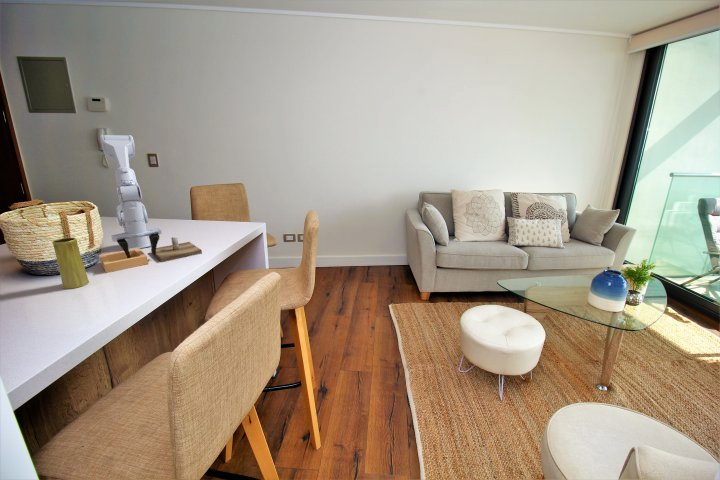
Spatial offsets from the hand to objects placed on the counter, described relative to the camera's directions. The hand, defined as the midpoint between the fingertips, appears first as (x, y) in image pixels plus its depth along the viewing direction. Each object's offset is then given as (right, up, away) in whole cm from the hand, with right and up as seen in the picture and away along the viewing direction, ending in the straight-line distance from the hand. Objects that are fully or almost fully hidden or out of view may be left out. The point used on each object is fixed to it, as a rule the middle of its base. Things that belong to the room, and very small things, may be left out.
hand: (141, 256), depth 115 cm
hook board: (+7, +1, +10) cm, 12 cm away
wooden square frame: (-5, -2, -2) cm, 6 cm away
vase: (-7, -8, -18) cm, 21 cm away
